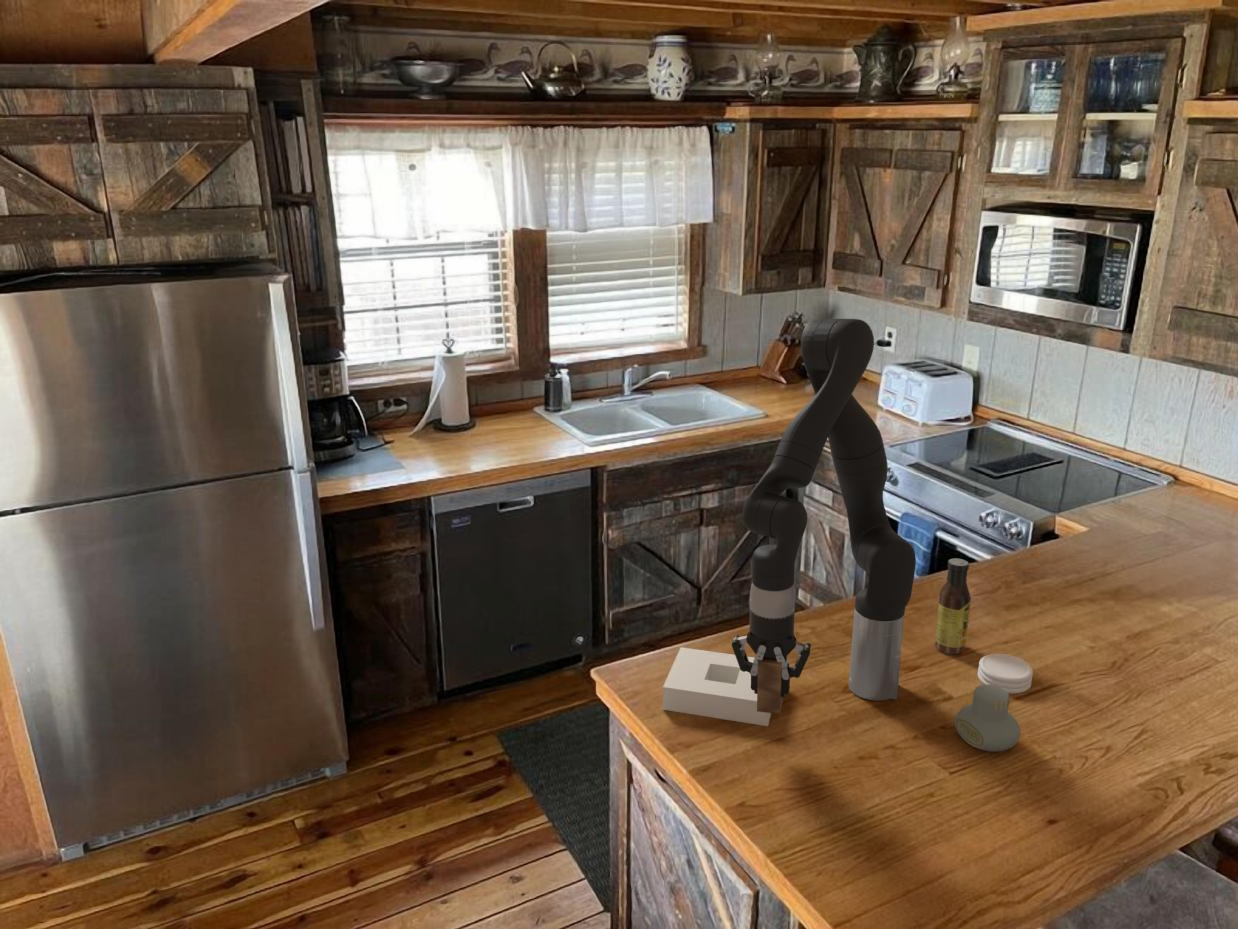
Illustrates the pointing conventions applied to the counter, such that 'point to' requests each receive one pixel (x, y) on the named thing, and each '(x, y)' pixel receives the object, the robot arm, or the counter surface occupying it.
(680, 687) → the socket board
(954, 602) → the sauce bottle
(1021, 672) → the coaster
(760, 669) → the peg
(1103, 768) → the counter surface
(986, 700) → the air freshener
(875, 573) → the robot arm
